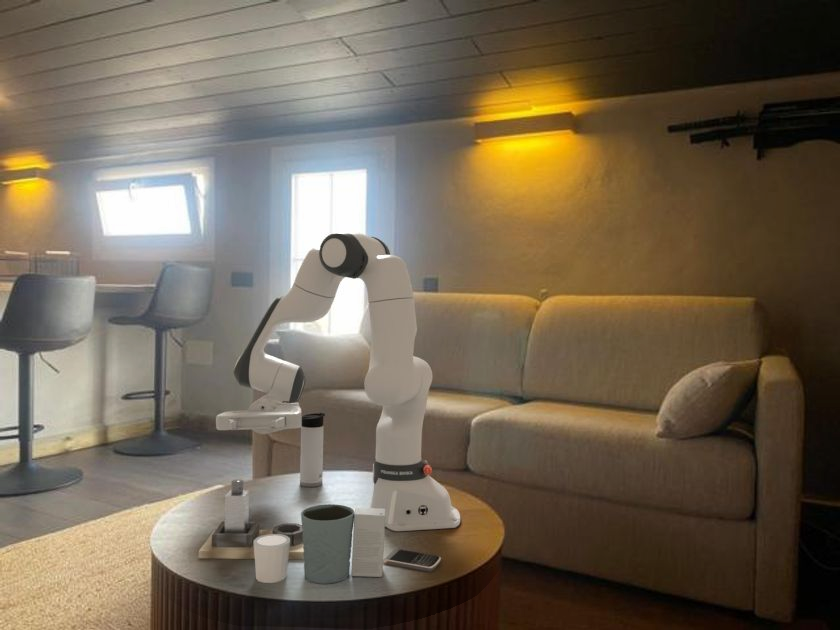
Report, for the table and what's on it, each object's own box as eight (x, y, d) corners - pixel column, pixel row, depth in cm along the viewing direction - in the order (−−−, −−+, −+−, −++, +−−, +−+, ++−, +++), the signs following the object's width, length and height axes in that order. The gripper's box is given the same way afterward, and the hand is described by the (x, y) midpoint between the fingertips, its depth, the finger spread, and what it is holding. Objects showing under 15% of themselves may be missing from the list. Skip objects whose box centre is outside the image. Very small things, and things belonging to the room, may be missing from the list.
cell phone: (432, 575, 125) (432, 568, 125) (380, 565, 129) (381, 558, 129) (442, 563, 131) (443, 556, 131) (392, 554, 135) (393, 547, 135)
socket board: (315, 537, 142) (316, 519, 142) (308, 559, 130) (309, 539, 130) (215, 536, 141) (215, 518, 141) (198, 558, 129) (198, 538, 129)
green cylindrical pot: (295, 584, 118) (296, 520, 118) (306, 562, 128) (306, 502, 128) (350, 585, 118) (351, 521, 118) (356, 563, 128) (357, 503, 128)
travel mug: (326, 485, 180) (328, 414, 180) (304, 488, 177) (305, 416, 177) (318, 479, 186) (320, 411, 185) (296, 482, 183) (298, 412, 182)
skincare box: (382, 568, 126) (386, 508, 126) (382, 577, 122) (386, 515, 122) (351, 567, 126) (355, 506, 126) (350, 576, 122) (354, 514, 122)
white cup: (256, 568, 125) (256, 533, 125) (291, 568, 125) (292, 533, 125) (249, 584, 118) (250, 547, 118) (287, 584, 118) (287, 546, 118)
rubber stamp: (248, 536, 137) (249, 478, 137) (243, 543, 133) (244, 484, 133) (229, 536, 137) (230, 478, 137) (224, 543, 133) (225, 483, 133)
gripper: (223, 404, 161) (207, 413, 147) (305, 402, 162) (297, 410, 148) (224, 429, 161) (208, 440, 147) (305, 426, 162) (297, 438, 148)
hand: (253, 425), depth 148 cm, fingers open, 8 cm apart
